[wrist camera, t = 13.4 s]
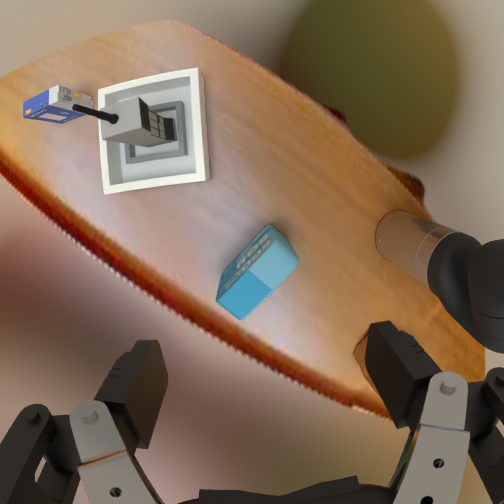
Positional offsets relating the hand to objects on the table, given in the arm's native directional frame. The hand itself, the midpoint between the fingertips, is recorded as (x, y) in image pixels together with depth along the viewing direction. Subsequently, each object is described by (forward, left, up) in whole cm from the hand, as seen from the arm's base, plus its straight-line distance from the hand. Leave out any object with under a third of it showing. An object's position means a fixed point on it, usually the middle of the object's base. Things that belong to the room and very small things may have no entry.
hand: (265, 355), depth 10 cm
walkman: (+30, -22, -38) cm, 53 cm away
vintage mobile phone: (+13, -14, -37) cm, 42 cm away
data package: (0, +8, -38) cm, 39 cm away
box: (+14, -14, -38) cm, 43 cm away
